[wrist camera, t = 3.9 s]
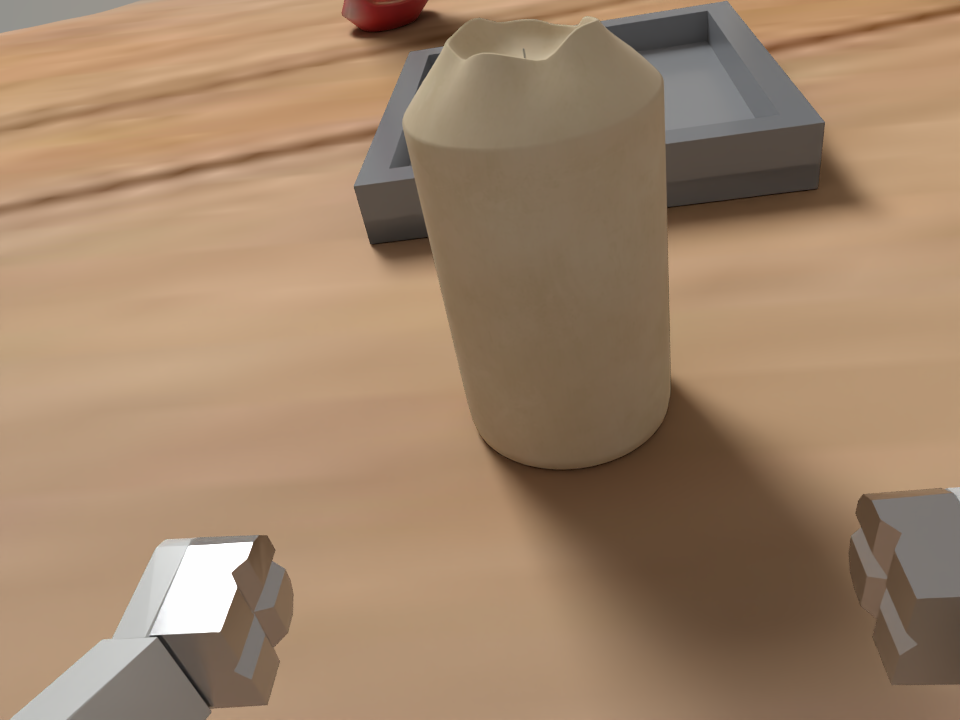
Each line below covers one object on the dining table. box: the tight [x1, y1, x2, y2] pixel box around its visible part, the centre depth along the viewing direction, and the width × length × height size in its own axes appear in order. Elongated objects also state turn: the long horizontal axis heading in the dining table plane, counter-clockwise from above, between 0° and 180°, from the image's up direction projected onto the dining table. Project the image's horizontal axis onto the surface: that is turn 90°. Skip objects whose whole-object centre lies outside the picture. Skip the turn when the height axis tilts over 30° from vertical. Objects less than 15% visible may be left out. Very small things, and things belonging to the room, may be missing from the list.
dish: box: [354, 1, 825, 244], centre depth 35 cm, size 17×17×2 cm
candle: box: [402, 16, 671, 469], centre depth 18 cm, size 6×6×10 cm
